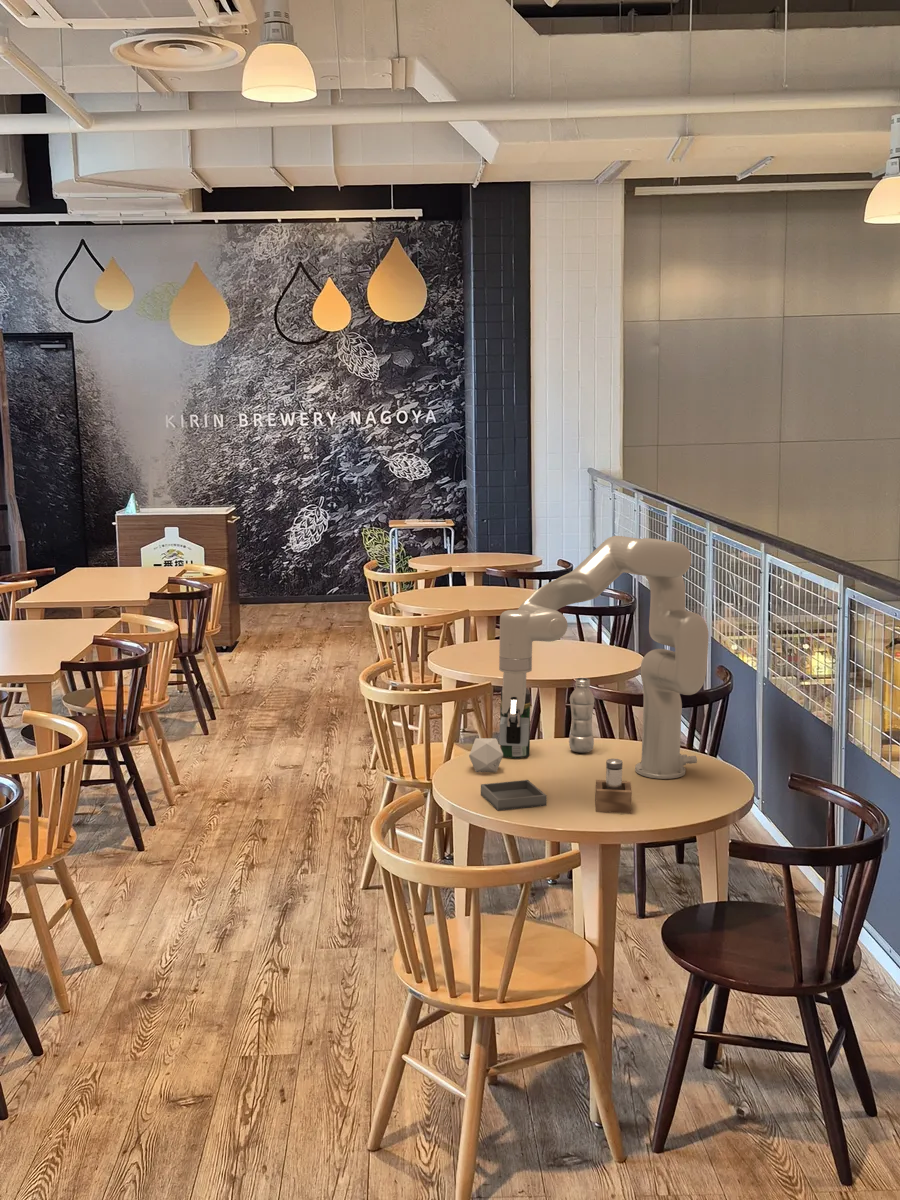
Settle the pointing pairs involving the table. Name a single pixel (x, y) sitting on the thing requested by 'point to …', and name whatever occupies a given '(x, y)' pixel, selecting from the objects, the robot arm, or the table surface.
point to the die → (486, 755)
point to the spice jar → (614, 774)
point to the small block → (524, 732)
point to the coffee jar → (524, 751)
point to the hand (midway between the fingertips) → (514, 738)
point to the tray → (513, 795)
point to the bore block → (613, 798)
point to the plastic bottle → (581, 717)
